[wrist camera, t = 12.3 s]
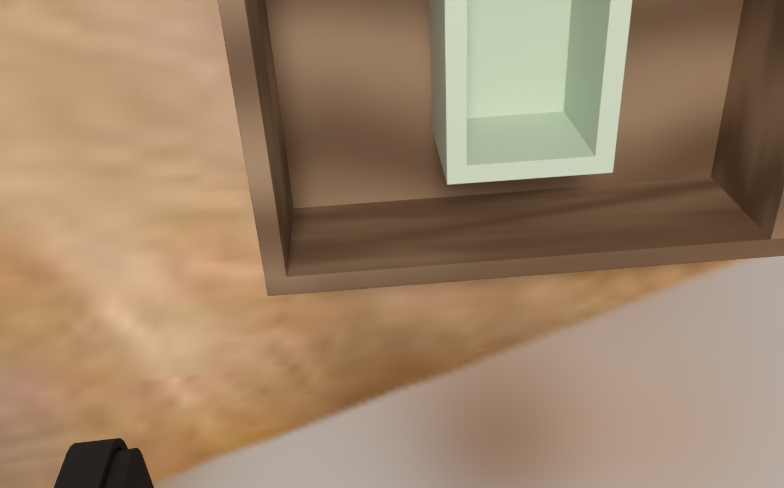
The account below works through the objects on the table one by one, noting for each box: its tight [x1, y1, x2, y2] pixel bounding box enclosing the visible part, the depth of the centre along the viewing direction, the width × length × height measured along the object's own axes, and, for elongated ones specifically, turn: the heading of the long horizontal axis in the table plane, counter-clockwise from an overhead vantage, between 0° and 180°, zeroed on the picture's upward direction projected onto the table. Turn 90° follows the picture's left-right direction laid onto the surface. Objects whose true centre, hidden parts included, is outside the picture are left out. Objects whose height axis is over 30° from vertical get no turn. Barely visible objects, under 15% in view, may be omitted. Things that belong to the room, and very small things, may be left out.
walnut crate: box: [218, 0, 784, 296], centre depth 27 cm, size 18×21×6 cm
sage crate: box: [429, 0, 632, 185], centre depth 26 cm, size 10×6×5 cm, turn 3°
